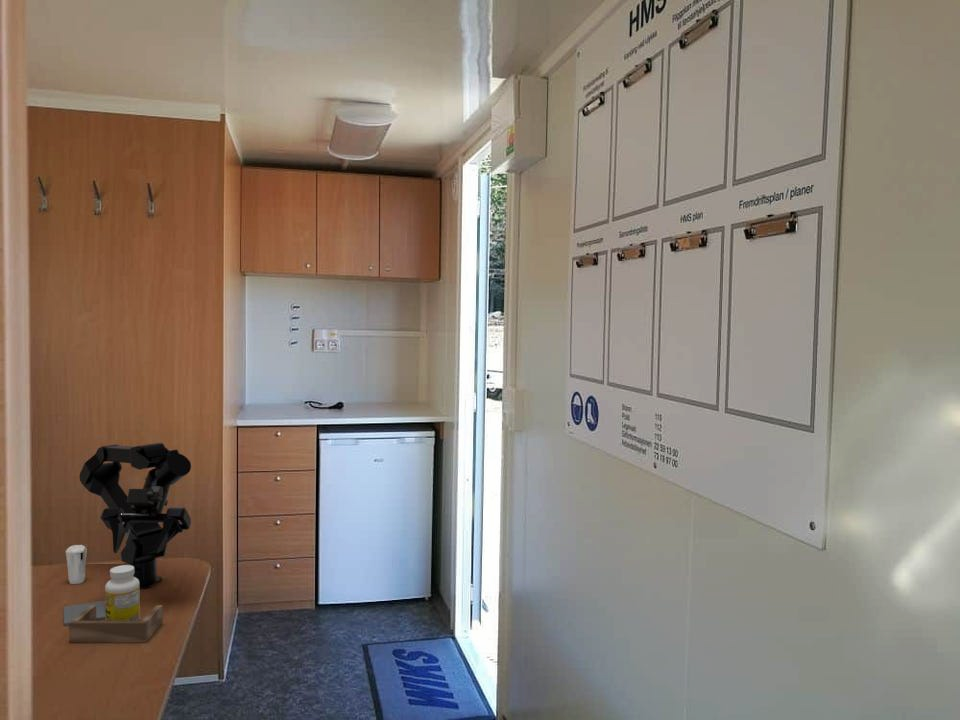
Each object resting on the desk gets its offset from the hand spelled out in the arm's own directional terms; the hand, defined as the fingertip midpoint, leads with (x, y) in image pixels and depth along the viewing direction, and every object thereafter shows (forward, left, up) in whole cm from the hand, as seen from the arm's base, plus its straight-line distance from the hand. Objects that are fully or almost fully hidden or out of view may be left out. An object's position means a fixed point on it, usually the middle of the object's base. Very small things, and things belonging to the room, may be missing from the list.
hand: (135, 552), depth 164 cm
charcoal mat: (+2, -10, -14) cm, 17 cm away
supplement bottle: (+8, +2, -14) cm, 16 cm away
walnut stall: (+10, +2, -14) cm, 17 cm away
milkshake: (-14, -24, -14) cm, 31 cm away
